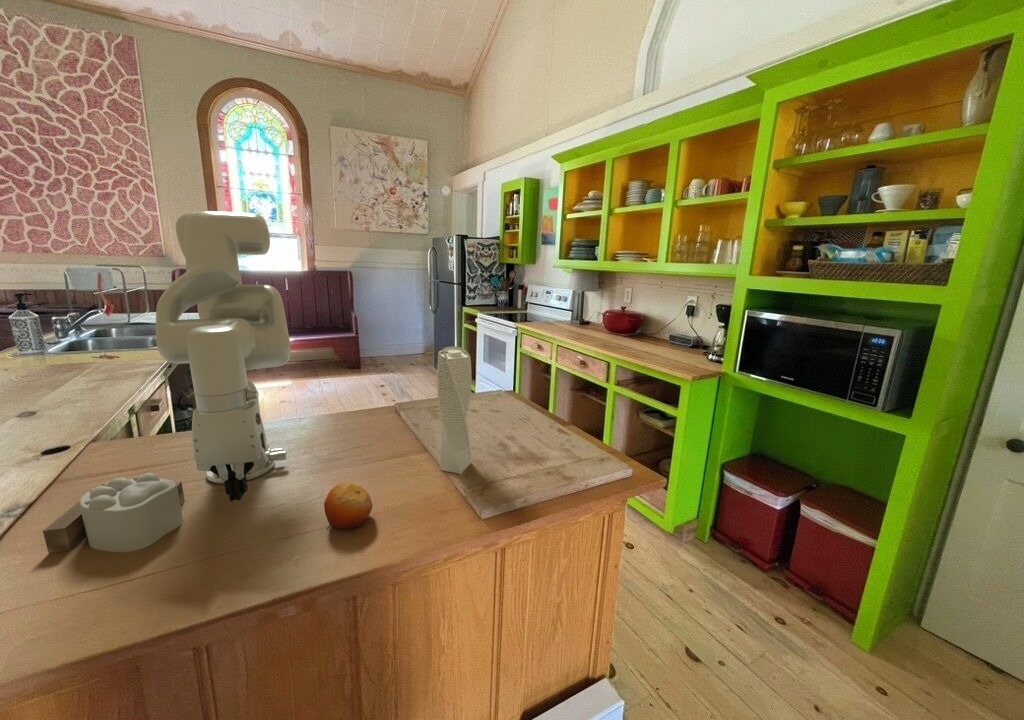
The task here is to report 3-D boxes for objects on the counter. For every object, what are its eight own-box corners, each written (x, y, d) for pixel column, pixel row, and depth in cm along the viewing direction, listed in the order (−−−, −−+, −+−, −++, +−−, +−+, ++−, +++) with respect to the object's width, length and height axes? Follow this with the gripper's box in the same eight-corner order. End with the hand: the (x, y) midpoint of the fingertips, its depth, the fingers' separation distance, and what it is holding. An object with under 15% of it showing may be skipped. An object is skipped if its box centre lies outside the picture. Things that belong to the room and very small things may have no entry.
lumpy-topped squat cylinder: (135, 555, 68) (124, 505, 66) (66, 545, 70) (53, 496, 68) (193, 517, 78) (185, 472, 76) (130, 509, 80) (121, 466, 78)
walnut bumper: (184, 500, 83) (181, 481, 82) (153, 539, 72) (148, 517, 71) (96, 511, 79) (91, 491, 78) (48, 553, 68) (42, 530, 67)
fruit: (322, 503, 80) (343, 468, 79) (362, 522, 82) (382, 488, 80) (306, 530, 72) (328, 492, 71) (350, 550, 74) (372, 513, 73)
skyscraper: (463, 478, 93) (461, 349, 86) (432, 472, 95) (428, 346, 89) (478, 462, 100) (477, 341, 94) (448, 457, 102) (446, 339, 96)
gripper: (277, 389, 79) (288, 481, 84) (181, 395, 75) (198, 490, 80) (267, 403, 72) (279, 502, 77) (160, 410, 68) (179, 514, 73)
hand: (237, 496), depth 78 cm, fingers closed
